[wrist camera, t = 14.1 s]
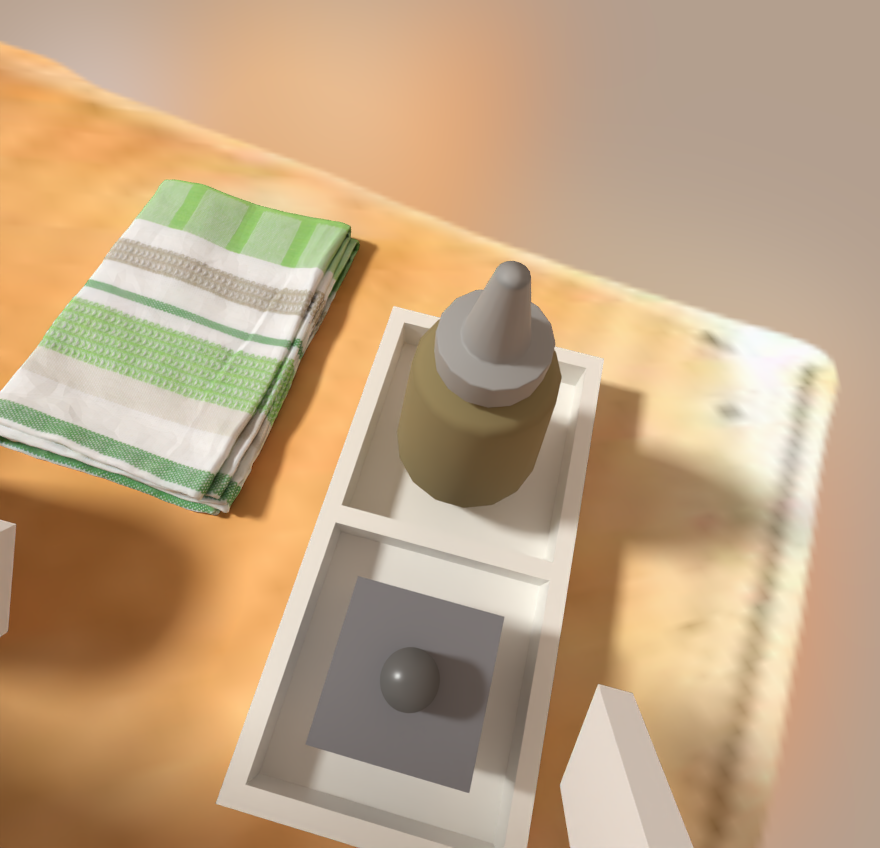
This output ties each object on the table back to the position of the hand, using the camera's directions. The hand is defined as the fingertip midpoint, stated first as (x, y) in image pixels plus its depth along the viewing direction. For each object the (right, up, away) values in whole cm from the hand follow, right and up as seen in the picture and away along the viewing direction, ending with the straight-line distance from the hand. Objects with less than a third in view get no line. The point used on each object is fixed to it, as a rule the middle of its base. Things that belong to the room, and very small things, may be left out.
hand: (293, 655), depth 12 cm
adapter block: (+2, -8, +17) cm, 19 cm away
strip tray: (+3, -3, +21) cm, 21 cm away
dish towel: (-14, +11, +27) cm, 32 cm away
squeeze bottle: (+5, +3, +22) cm, 23 cm away
